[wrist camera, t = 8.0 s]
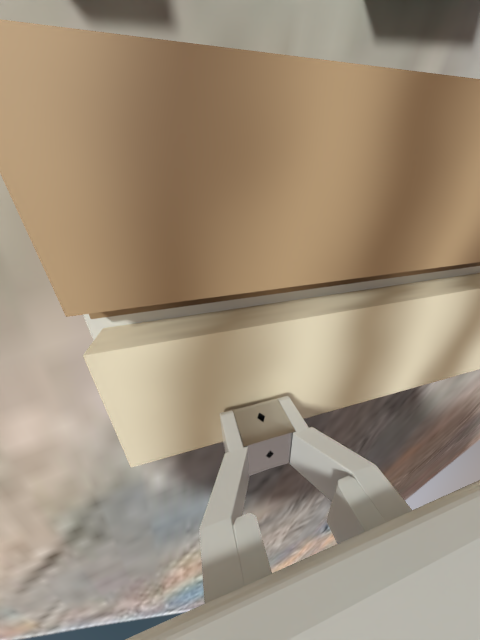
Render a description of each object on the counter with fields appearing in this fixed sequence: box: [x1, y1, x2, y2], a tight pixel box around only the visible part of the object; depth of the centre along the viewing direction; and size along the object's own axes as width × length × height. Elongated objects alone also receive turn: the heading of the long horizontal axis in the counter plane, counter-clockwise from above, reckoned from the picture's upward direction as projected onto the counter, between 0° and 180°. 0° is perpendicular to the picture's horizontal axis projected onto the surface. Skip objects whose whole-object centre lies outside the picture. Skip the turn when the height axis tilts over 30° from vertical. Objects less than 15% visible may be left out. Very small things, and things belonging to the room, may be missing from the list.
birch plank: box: [83, 273, 480, 467], centre depth 11 cm, size 23×6×2 cm, turn 92°
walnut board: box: [0, 20, 480, 319], centre depth 8 cm, size 23×6×2 cm, turn 92°
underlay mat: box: [83, 266, 480, 340], centre depth 11 cm, size 24×13×1 cm, turn 92°
